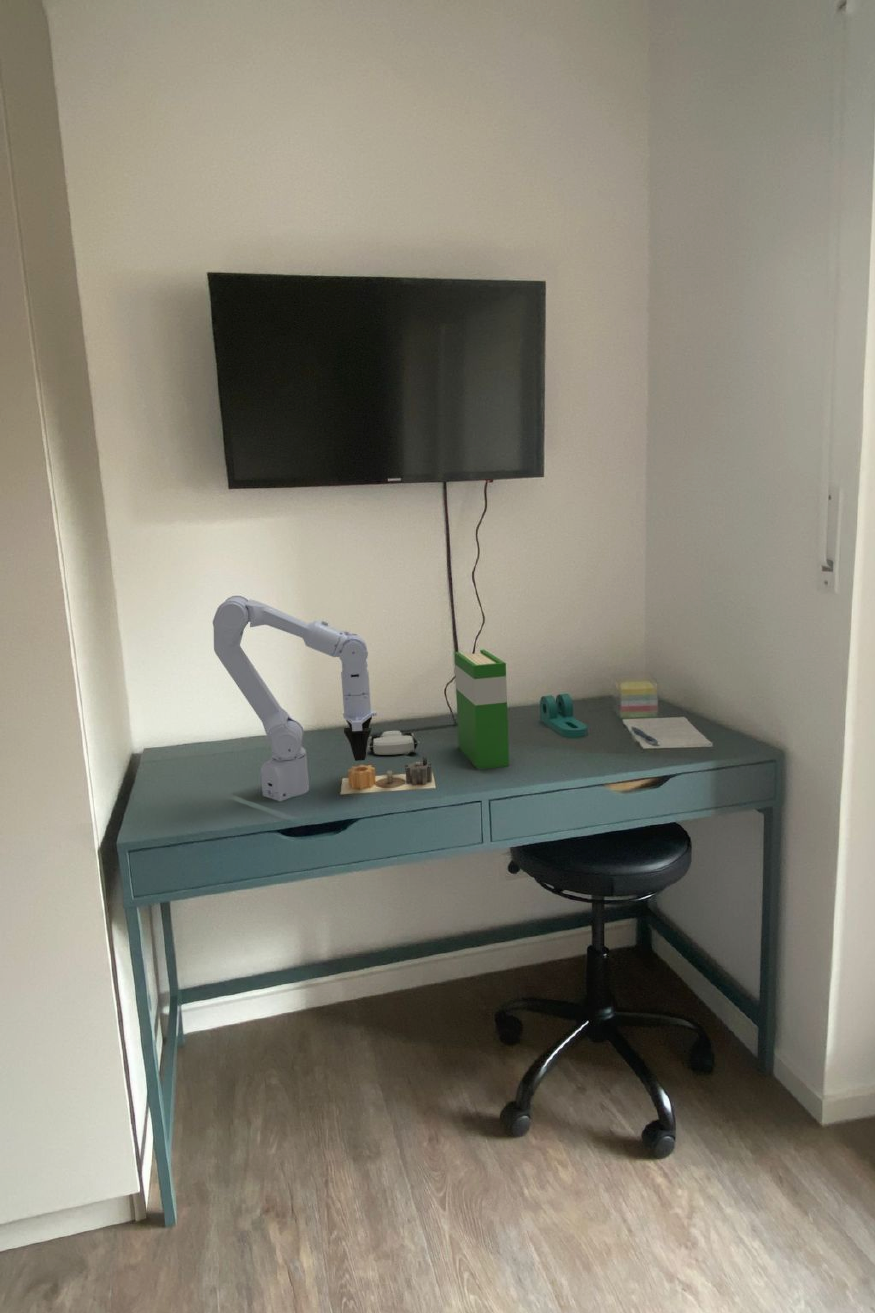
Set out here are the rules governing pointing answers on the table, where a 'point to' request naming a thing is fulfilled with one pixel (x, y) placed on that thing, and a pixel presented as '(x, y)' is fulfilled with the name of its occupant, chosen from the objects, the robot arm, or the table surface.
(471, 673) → the hardback book
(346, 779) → the gear board
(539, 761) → the table surface
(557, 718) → the bracket
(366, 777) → the orange gear
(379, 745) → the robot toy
